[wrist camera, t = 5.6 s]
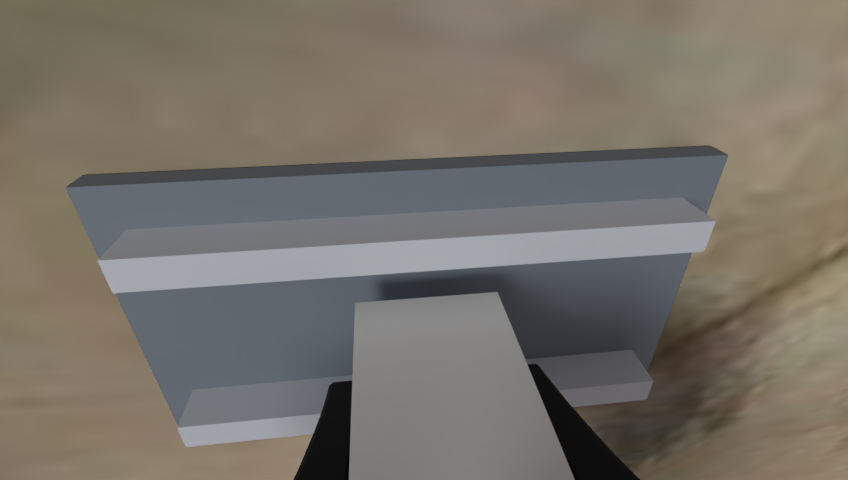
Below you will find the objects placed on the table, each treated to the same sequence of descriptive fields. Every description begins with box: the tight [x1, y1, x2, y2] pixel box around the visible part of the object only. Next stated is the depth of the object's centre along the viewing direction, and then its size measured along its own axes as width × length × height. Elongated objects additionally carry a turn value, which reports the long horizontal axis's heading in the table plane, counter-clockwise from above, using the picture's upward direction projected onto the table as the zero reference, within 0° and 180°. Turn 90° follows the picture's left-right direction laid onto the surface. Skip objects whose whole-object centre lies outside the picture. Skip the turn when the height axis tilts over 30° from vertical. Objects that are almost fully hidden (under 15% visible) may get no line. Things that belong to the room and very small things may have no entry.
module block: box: [349, 292, 575, 480], centre depth 11 cm, size 4×4×6 cm
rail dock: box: [66, 146, 728, 447], centre depth 14 cm, size 10×18×2 cm, turn 90°
